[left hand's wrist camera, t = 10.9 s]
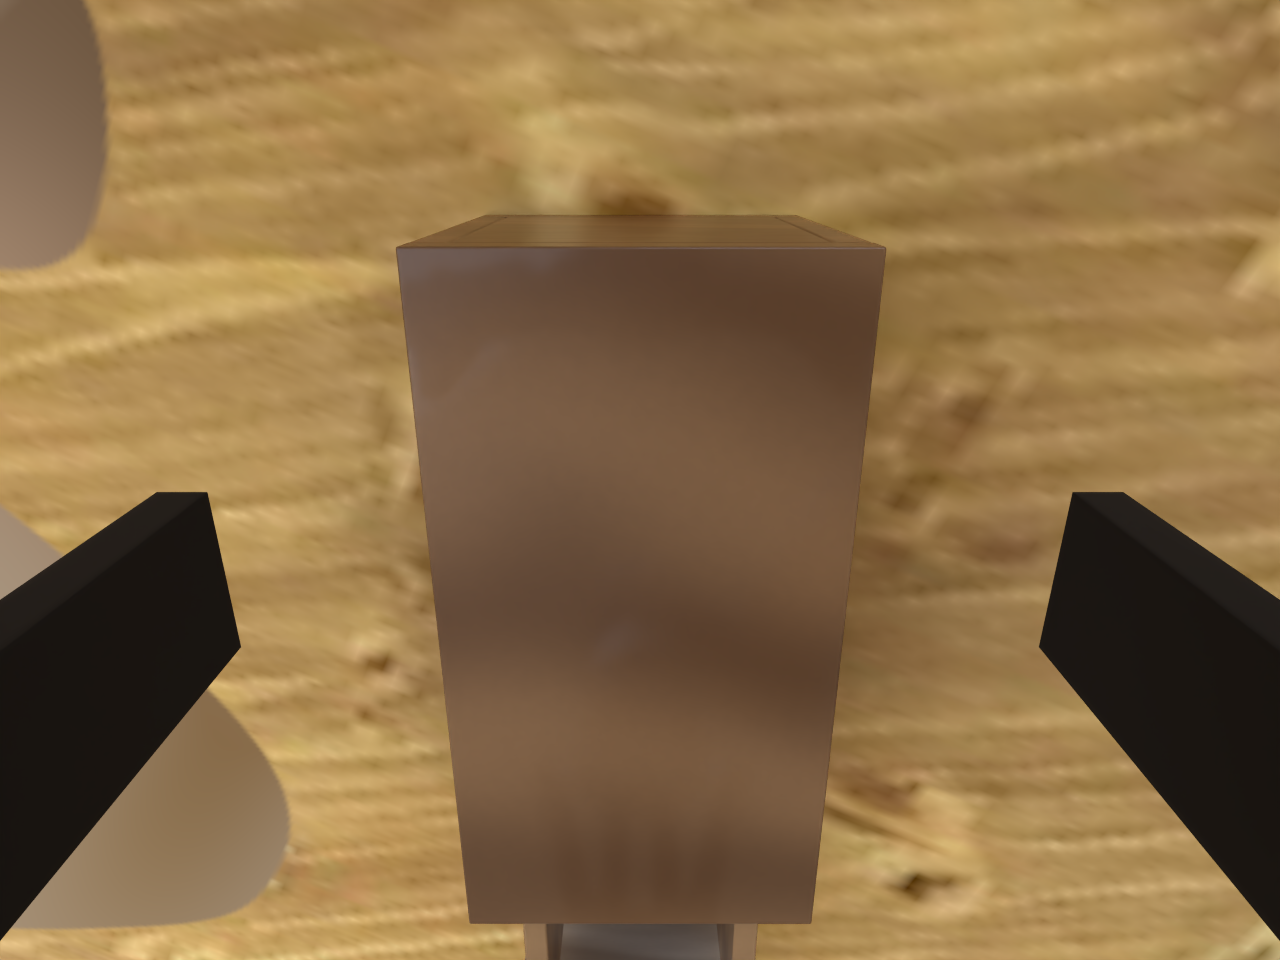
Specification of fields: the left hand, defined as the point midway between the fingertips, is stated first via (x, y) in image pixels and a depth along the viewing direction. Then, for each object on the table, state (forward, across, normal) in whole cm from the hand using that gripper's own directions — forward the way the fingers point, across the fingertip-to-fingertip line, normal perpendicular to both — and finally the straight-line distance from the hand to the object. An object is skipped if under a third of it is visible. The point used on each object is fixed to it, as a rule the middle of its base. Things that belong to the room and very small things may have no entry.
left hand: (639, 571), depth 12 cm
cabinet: (+18, 0, -6) cm, 19 cm away
